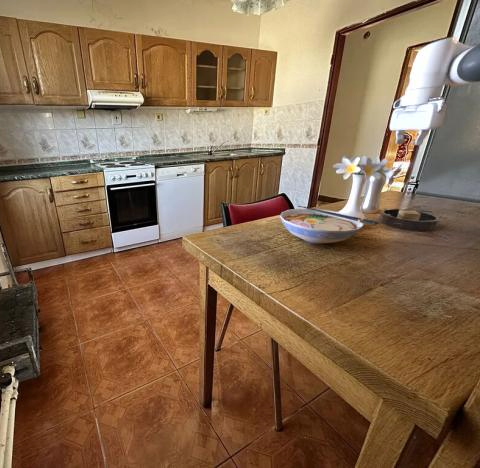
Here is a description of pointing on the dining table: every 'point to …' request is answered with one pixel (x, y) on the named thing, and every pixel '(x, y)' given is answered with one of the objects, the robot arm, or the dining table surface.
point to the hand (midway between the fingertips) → (407, 144)
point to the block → (408, 215)
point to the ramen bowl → (321, 224)
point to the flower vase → (362, 179)
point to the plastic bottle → (372, 194)
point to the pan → (424, 224)
